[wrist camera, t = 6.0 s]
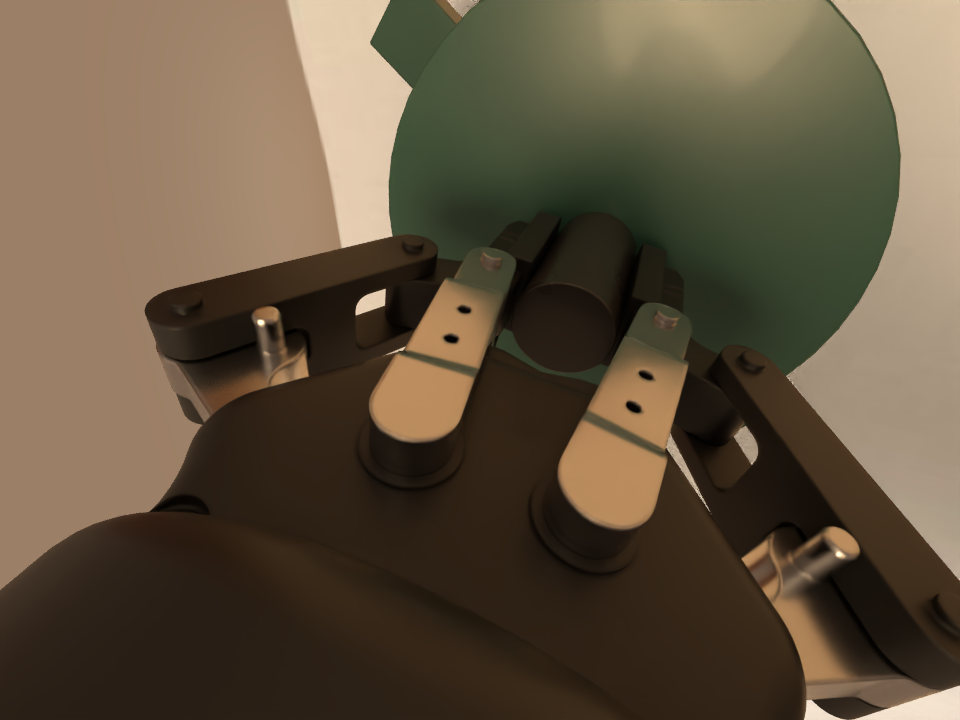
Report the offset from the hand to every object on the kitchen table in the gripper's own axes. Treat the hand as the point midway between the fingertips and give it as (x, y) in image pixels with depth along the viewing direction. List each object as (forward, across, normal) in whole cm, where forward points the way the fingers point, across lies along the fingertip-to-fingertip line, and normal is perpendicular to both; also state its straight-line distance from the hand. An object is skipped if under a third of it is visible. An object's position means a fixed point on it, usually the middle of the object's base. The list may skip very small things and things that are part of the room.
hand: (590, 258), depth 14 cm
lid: (+1, 0, 0) cm, 1 cm away
